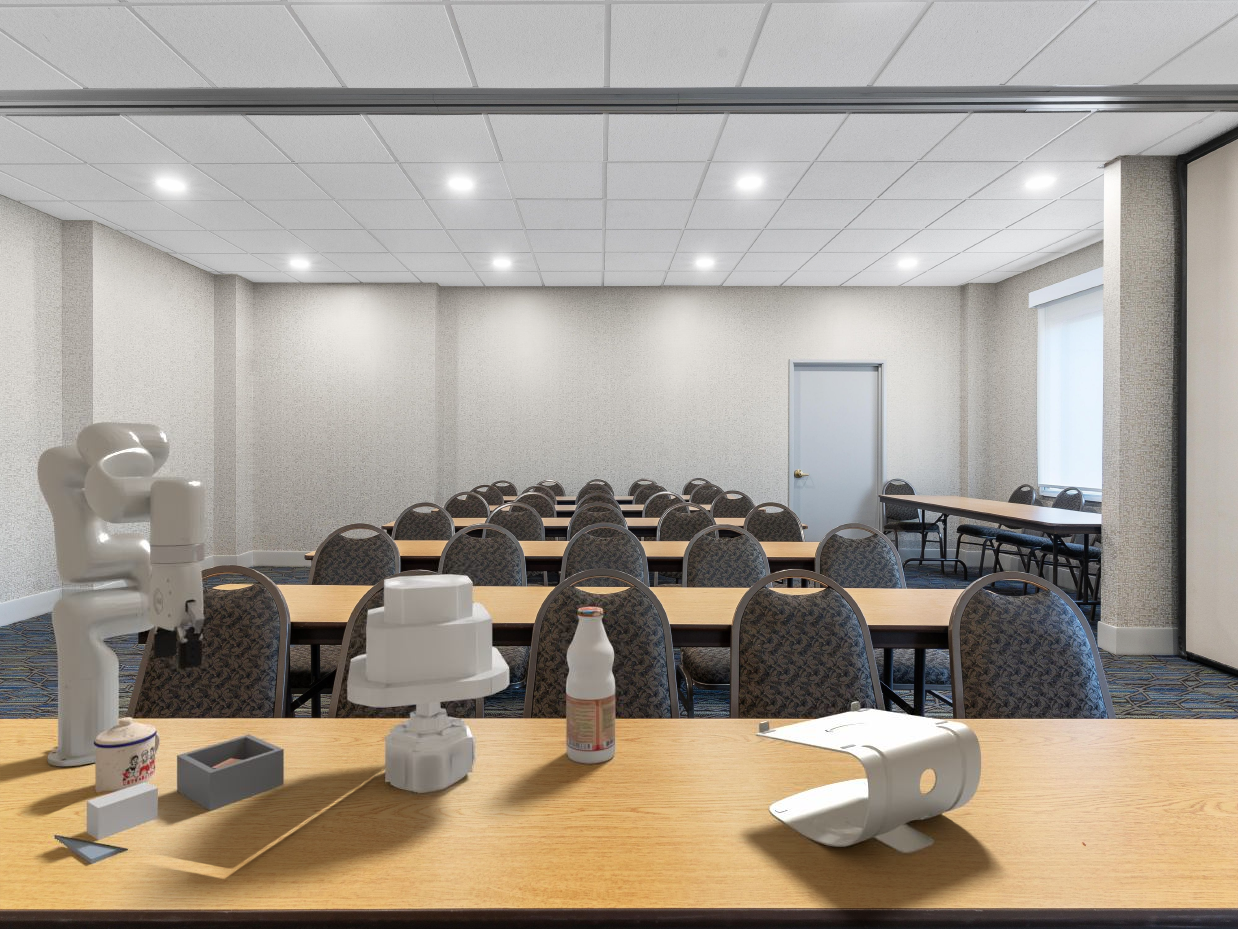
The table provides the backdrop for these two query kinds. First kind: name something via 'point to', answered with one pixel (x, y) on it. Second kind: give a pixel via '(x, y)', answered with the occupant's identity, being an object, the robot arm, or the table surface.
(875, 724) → the portable electronic device stand
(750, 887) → the table surface
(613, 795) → the table surface
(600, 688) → the fruit juice
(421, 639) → the white tiered tall piece
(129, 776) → the teacup with lid
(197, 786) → the storage box
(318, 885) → the table surface
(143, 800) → the lid
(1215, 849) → the table surface
